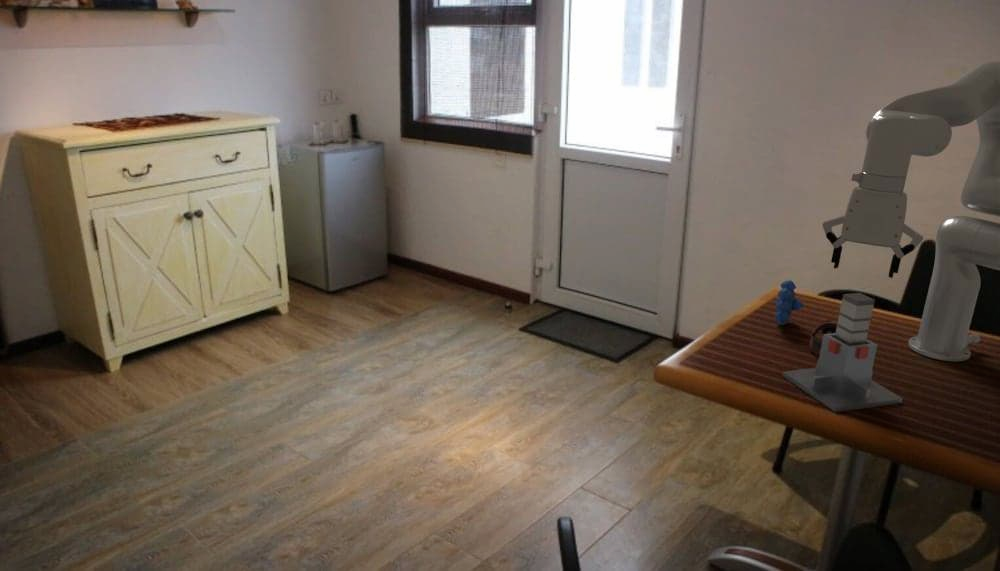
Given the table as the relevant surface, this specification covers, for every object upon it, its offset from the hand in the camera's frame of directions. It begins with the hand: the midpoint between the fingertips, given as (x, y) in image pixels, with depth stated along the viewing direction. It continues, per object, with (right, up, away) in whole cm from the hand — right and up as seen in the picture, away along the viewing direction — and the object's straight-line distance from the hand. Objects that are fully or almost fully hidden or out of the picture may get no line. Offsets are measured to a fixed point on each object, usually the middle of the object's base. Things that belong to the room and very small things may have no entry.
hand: (862, 271), depth 144 cm
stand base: (-1, -24, +9) cm, 25 cm away
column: (0, -23, +8) cm, 24 cm away
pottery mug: (+5, -18, +27) cm, 33 cm away
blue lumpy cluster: (+1, -13, +41) cm, 43 cm away
